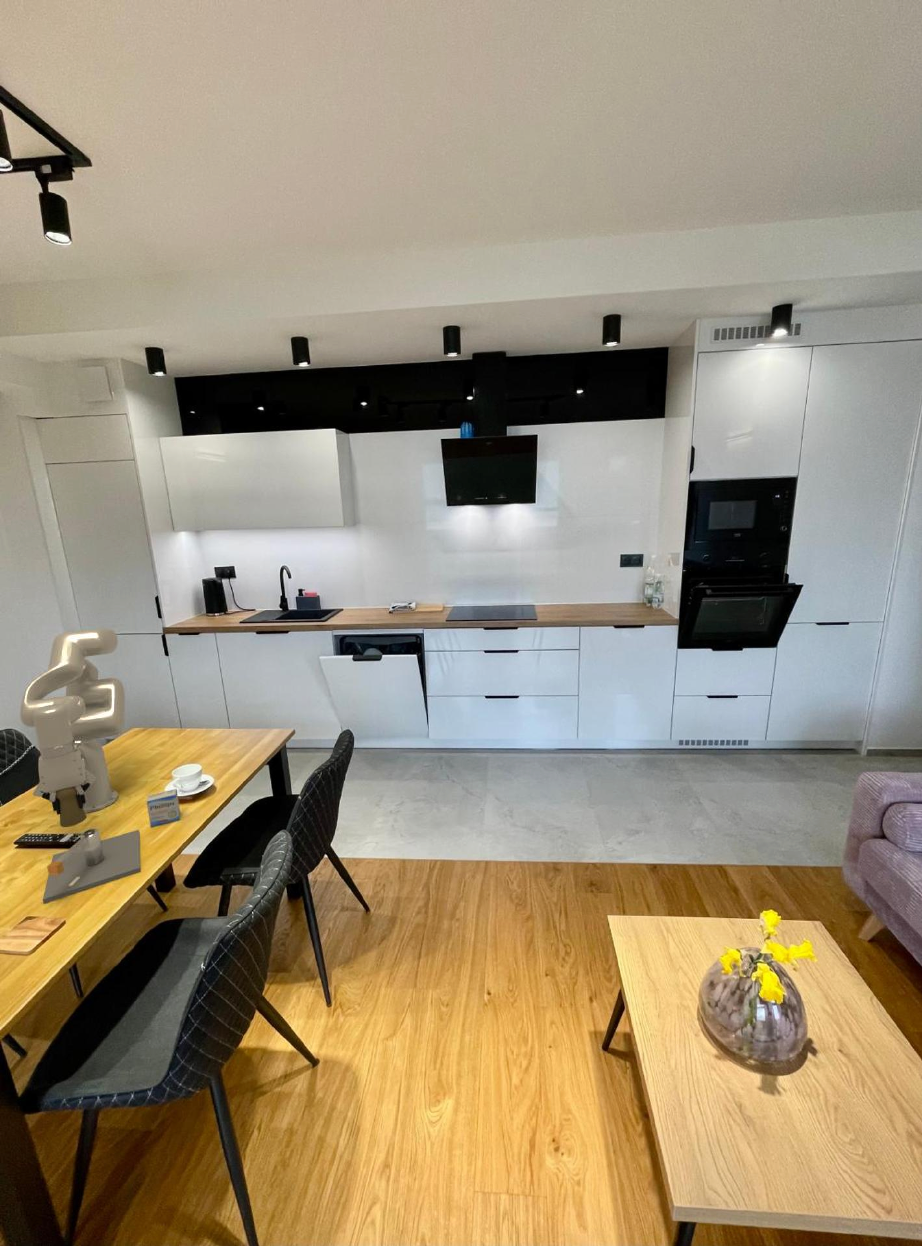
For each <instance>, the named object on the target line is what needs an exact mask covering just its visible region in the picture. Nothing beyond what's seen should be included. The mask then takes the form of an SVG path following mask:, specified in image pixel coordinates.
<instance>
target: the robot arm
mask: <svg viewBox="0 0 922 1246" xmlns="http://www.w3.org/2000/svg"><path fill="white" fill-rule="evenodd" d="M118 643H119V642H118V637H117V634H116V632H115V631H114V630H113V629H112V628H110V627H107V628H95V629H94V628H93V629H86V630H85V629H83V630H73V631H66V632H63V633H60V634H58V635H57V636H55V638H54V639H53V641H52V647H51V653H50V656H49V657H50V659H49V663H48V669H47V670H45V671H44V672H43V673H42V674H40V675H39V676H38V677H36V678H35V679H34V680H33V681H31V683H30V684H29V685H28V686H27V687H26V689H25V691H24V692H23V696H22V700H21V704H20V713H19V715H20V720H21V723H22V724H23V725H24V726H25V727H27V728H28V727H29V728H34V729H35V735H36V738H37V743H38V747H39V751H40V756H39V757H38V776H39V782H38V784H37V786H36V787H35V789H34V790H33V791H32V792H33V793H32V796H35V797H38V798H43V799H44V800H47V801H49V803H51V805H52V810H53V812H56V815H57V816H58V815H59V816H60V807H59V799H58V798H57V797H56V791H58V790H62V789H66V788H71V787H75V788H76V790H77V791H78V793H77V798H78V803H79V808H83V809H84V812H85V814H88V813H93V812H97V811H100V810H102V809H105V808H107V807H109V806H110V805H112V804H113V803H114V802H116V801H117V799H118V798H119V793H118V791H116V790H113V789H112V788H111V781H110V776H109V772H108V766H107V762H106V761H107V760H106V756H105V750H104V748H103V747H102V745H101V744H100V743H99V742H98V741H96V740H97V739H103V738H108V737H109V738H110V737H114V736H118V735H120V734H121V733H123V731H124V729H125V722H126V721H125V720H126V719H125V718H126V714H125V712H126V709H125V708H126V707H125V706H126V702H125V701H126V699H125V698H126V695H125V687H124V685H123V682H122V681H121V679H118V678H116V677H107V678H99V669H98V668H97V666H95V665H94V663H92V662H91V661H89V660H88V659H85V658H86V657H92V656H101V655H108V654H111V653H113V652H115V651H116V649H117V647H118ZM64 687H65V695H63V696H56V697H55V696H54V697H49V698H45V697H47V696H48V695H50V694H51V693H53V692H55V691H57V690H60V689H62V688H64Z"/></svg>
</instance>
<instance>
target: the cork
mask: <svg viewBox="0 0 922 1246" xmlns="http://www.w3.org/2000/svg"><path fill="white" fill-rule="evenodd" d="M77 793H78V791H77V790H76V788H75V787H71V788H66V789H62V790H58V791H56V797H57V798H58V799H59V807H60V814H59V822H60V823H59V826H60V827H62V828H69V827H70V828H71V827H74V826H76V825H78V824H81V823H83V822H84V821H86V819H87V813H85V812H84V809H83V808H79V803H78V798H77Z"/></svg>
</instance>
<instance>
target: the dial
mask: <svg viewBox="0 0 922 1246" xmlns="http://www.w3.org/2000/svg"><path fill="white" fill-rule="evenodd" d="M101 841H102V839H101V834H100V830H99V829H98V828H90V829H86V831H84V832H83V833H81V834H80V839H79V840H78V841H76V842H75V843H74V845H72V846H71V847H70V848H69V849H68V850H66V851H67V852H65V851H64V852H65V853H64V854H63V855H62V856H61V857H60V858H59V859H58V860H56V861H55V862H52V861H51V862H52V863H51V862H50V864H49V865H47V872H48V875H49V876H51V875H59V874H60V873H61V872H62V871H63V870H64V868H65V867H66V866H67V865H68V864H69V863H70V862H71V861H72V860H73V859H74V858H75V857H76V856H77V855H79V854H80V853H81V852H82V851H84V856H85V861H86V864H87V865H94V864H97V863H99V862H101V861H102V860H103V859H104V853H103V848H102V843H101Z"/></svg>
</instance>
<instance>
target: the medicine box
mask: <svg viewBox="0 0 922 1246" xmlns="http://www.w3.org/2000/svg"><path fill="white" fill-rule="evenodd" d="M146 807H147V813H148V818H149V824H150V828H155V827H159V826H163V825H167V824H169V823H170V824H171V823H173V822H178V821H180V820H181V810H180V802H179V796H178V790H177V788H174V789H170V790H167V791H162V792H157V793H154V794H150V795H147V796H146Z"/></svg>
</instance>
